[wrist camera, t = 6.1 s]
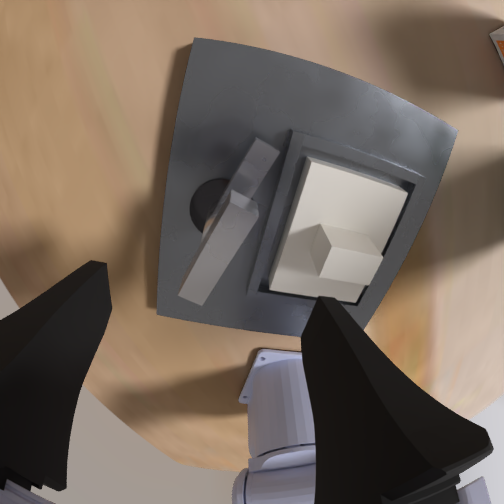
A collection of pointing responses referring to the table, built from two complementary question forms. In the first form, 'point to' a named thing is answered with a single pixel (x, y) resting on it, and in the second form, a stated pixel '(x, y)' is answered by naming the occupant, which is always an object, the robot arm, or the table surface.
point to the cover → (335, 232)
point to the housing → (284, 173)
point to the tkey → (227, 223)
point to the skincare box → (499, 41)
